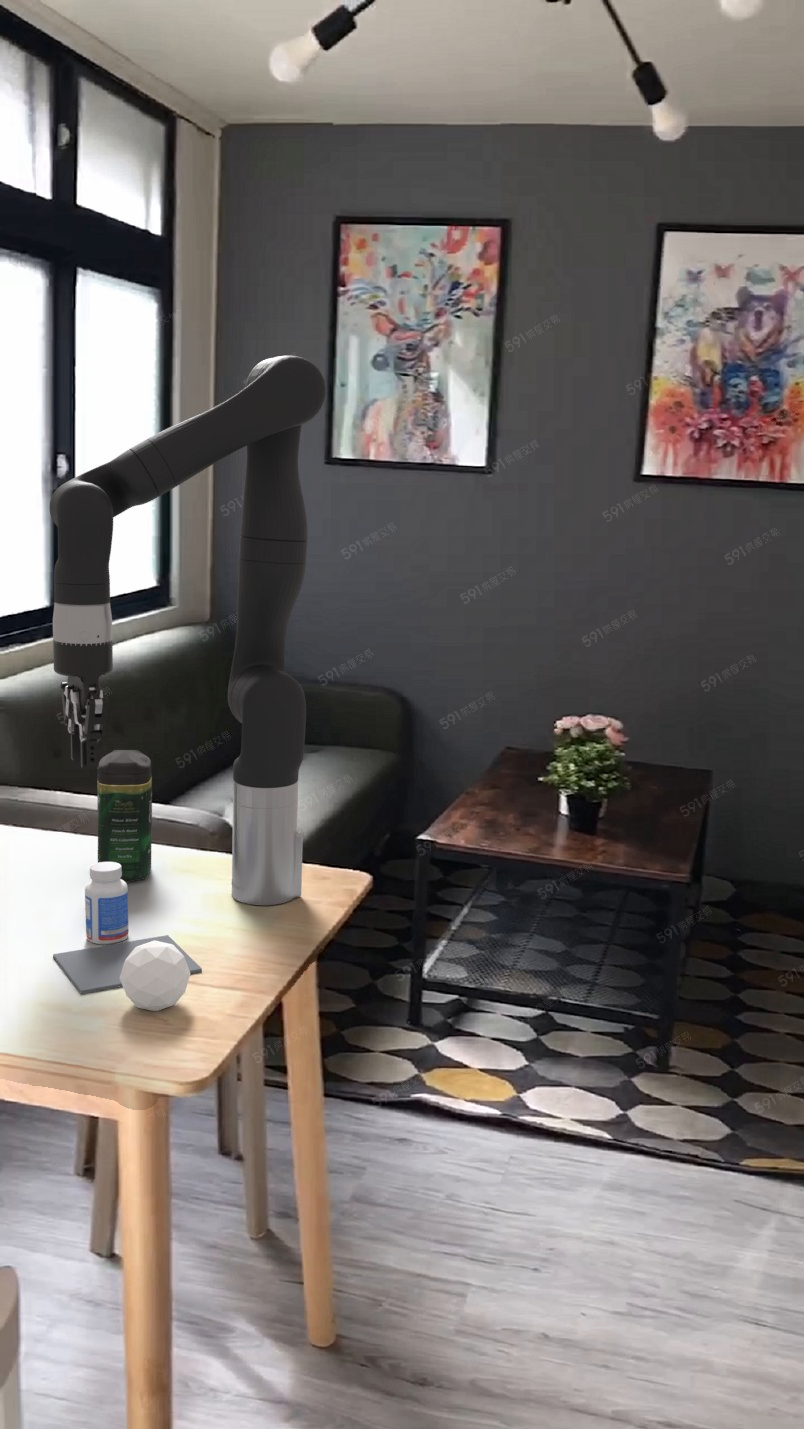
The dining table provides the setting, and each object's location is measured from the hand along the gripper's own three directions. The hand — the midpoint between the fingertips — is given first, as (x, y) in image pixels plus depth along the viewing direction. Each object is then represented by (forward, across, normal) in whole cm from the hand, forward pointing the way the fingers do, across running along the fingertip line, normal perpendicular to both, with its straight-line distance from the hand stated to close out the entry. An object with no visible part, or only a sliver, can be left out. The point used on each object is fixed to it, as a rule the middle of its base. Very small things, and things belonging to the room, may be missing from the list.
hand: (84, 763), depth 167 cm
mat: (+21, -18, 0) cm, 28 cm away
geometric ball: (+21, -31, +1) cm, 38 cm away
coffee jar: (+21, +14, -10) cm, 27 cm away
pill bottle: (+21, -9, 0) cm, 23 cm away
